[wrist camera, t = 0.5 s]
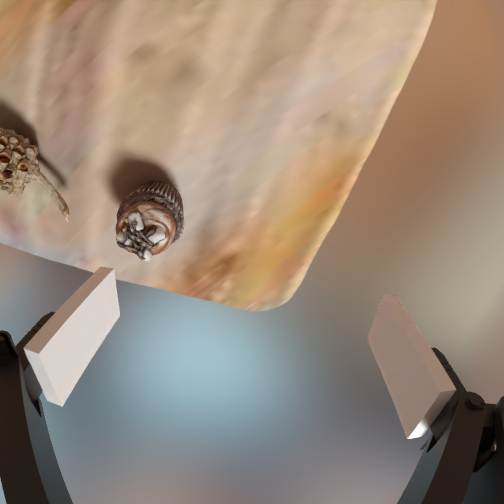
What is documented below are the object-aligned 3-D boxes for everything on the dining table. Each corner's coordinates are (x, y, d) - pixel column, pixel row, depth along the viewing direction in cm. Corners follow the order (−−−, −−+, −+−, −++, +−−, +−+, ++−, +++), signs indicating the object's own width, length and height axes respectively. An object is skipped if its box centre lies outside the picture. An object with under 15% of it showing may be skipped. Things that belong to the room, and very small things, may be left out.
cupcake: (173, 239, 48) (163, 282, 40) (119, 215, 45) (99, 254, 37) (199, 192, 43) (192, 230, 35) (140, 164, 40) (118, 197, 32)
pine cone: (-12, 152, 34) (-47, 179, 26) (2, 105, 30) (-38, 125, 22) (77, 215, 44) (52, 252, 36) (100, 171, 40) (72, 204, 32)
